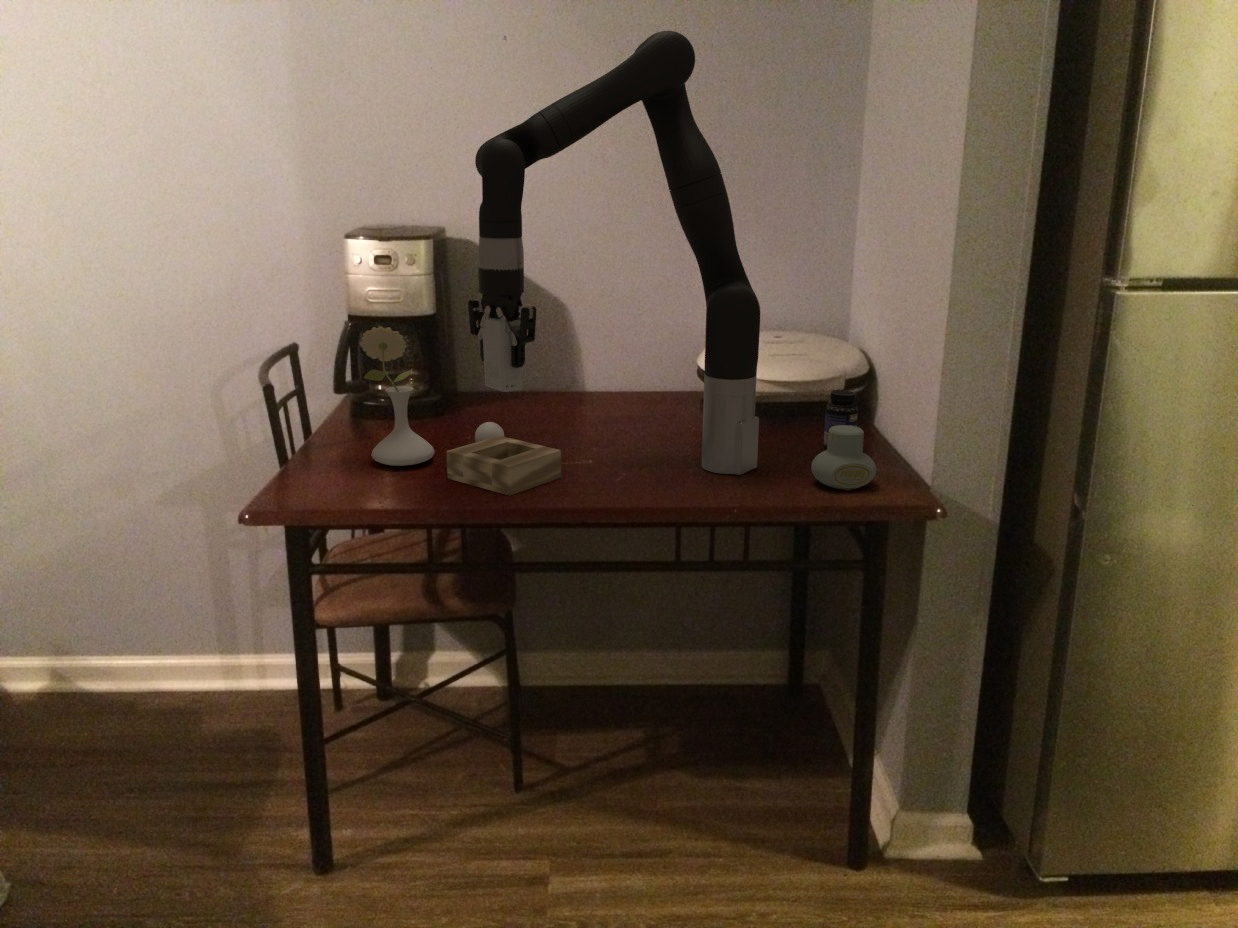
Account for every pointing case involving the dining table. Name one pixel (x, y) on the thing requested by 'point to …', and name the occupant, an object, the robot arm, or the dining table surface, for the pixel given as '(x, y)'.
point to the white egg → (488, 431)
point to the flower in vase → (394, 402)
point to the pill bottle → (840, 411)
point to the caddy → (504, 465)
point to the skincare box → (500, 357)
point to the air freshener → (844, 460)
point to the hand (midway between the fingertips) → (502, 364)
